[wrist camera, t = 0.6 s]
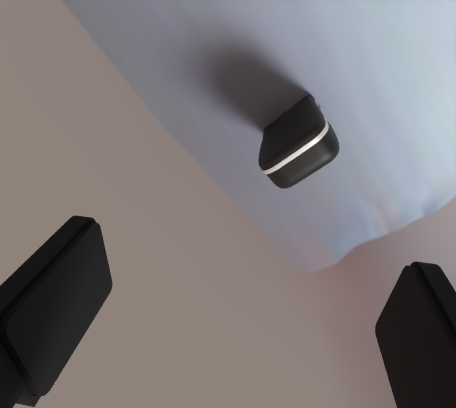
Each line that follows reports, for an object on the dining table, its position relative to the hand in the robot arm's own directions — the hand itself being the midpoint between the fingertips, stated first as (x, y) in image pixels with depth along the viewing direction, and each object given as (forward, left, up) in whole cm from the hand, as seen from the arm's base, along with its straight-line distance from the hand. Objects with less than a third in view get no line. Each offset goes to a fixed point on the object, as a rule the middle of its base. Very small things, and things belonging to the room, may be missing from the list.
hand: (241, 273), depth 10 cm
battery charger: (+2, +4, -29) cm, 29 cm away
